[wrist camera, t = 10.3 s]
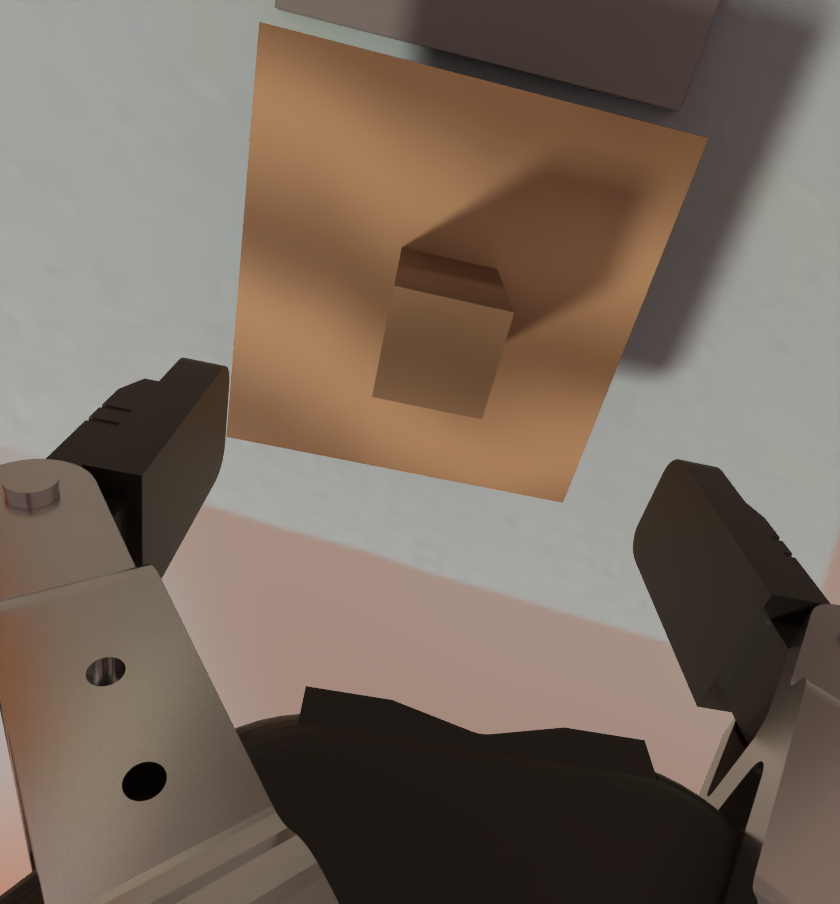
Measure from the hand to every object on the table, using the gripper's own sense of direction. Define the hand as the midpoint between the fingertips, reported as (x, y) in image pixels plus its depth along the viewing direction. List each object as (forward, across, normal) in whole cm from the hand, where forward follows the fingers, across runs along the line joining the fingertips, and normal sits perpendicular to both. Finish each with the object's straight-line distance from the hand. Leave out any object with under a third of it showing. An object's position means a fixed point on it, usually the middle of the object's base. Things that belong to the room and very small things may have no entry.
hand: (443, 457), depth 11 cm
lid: (+11, 0, 0) cm, 11 cm away
